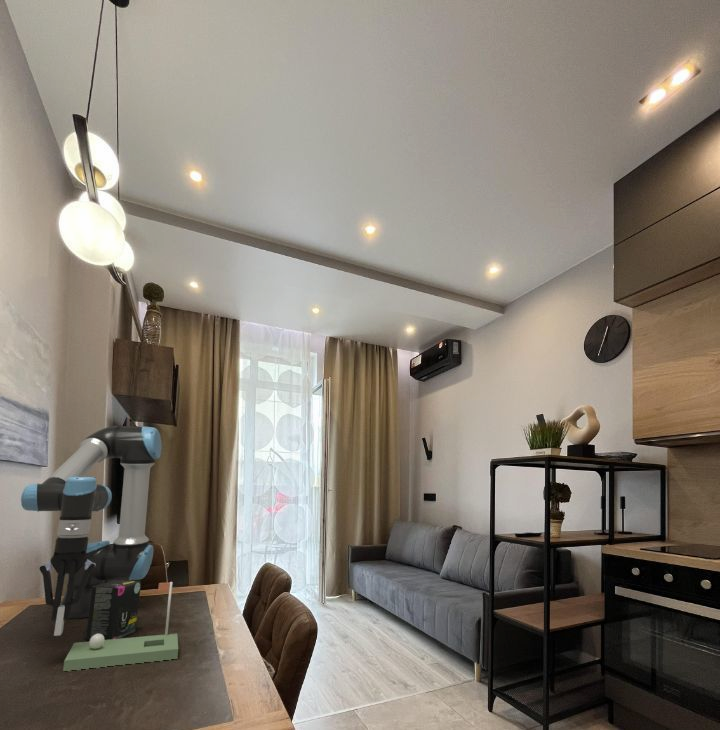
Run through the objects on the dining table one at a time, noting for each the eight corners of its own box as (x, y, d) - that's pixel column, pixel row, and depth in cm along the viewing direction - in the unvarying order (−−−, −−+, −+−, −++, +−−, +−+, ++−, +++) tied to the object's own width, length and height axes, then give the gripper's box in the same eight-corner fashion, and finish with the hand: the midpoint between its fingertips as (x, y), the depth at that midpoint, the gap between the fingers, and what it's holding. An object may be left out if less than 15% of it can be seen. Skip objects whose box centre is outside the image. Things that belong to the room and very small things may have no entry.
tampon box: (112, 643, 138) (118, 587, 141) (84, 640, 140) (91, 585, 143) (136, 631, 148) (142, 580, 152) (110, 629, 150) (116, 578, 154)
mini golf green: (72, 653, 129) (82, 586, 133) (176, 643, 139) (182, 581, 142) (62, 672, 117) (73, 597, 121) (177, 659, 126) (183, 591, 130)
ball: (89, 647, 127) (91, 632, 128) (104, 645, 128) (106, 631, 129) (87, 651, 124) (89, 636, 124) (102, 650, 125) (104, 635, 126)
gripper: (41, 538, 124) (24, 640, 118) (98, 537, 128) (84, 635, 122) (47, 535, 130) (32, 632, 124) (101, 534, 135) (89, 627, 129)
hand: (58, 633), depth 123 cm, fingers closed
